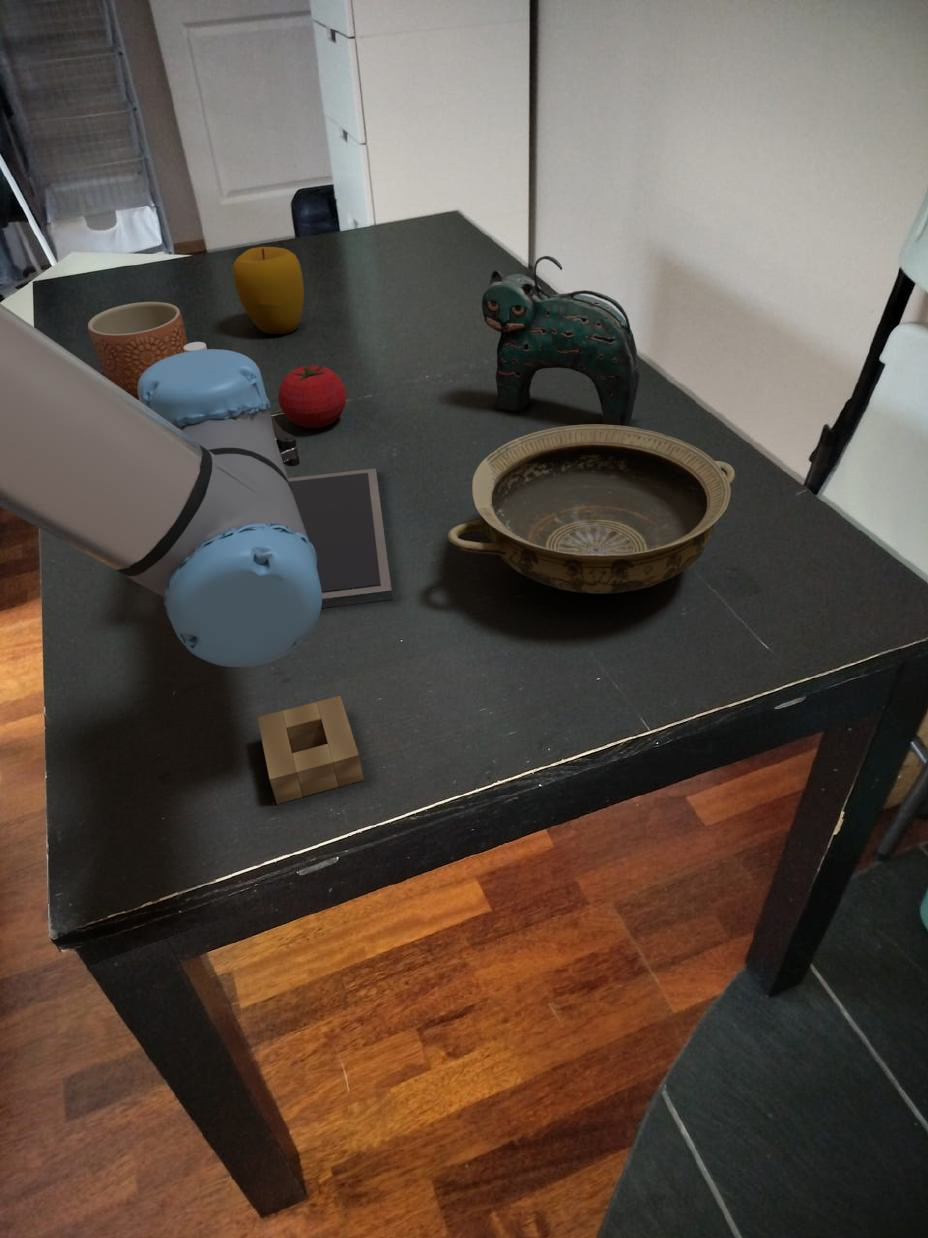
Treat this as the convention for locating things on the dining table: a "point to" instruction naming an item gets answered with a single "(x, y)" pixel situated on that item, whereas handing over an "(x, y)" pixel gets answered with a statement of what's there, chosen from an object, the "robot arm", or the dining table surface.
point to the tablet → (345, 535)
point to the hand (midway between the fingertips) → (206, 388)
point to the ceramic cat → (560, 342)
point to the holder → (313, 765)
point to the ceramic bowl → (597, 506)
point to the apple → (270, 288)
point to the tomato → (312, 396)
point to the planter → (136, 340)
